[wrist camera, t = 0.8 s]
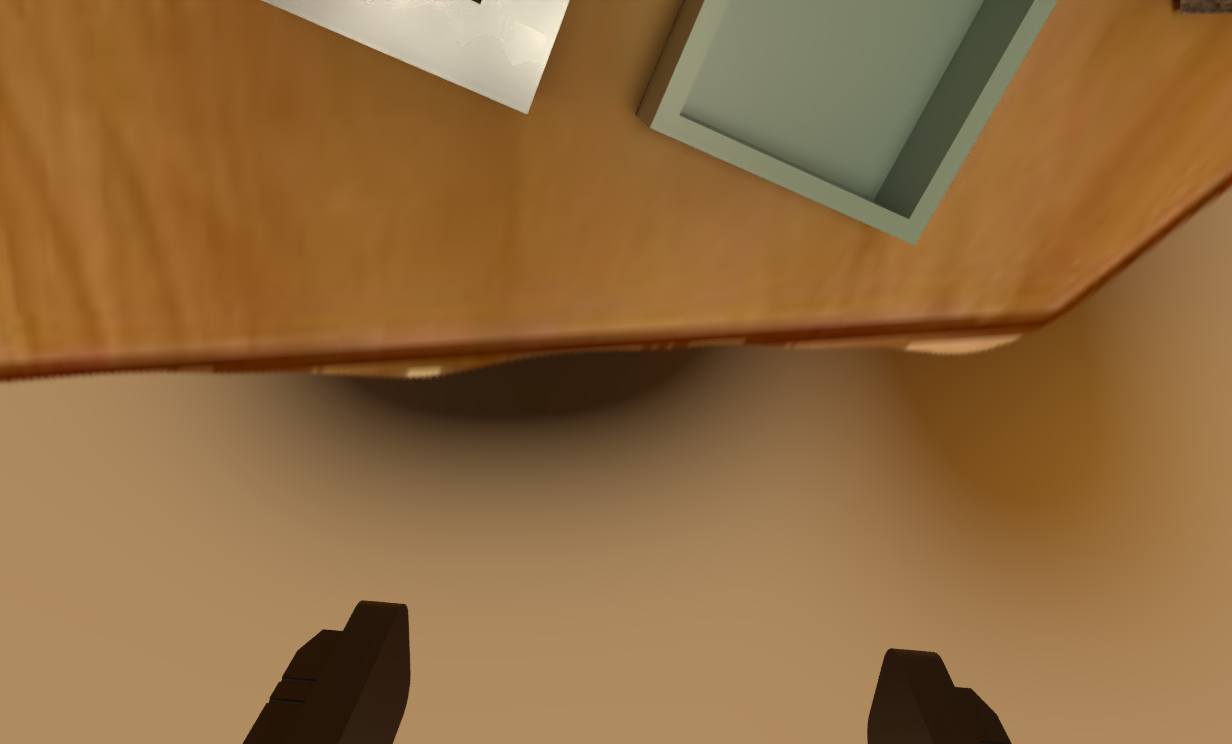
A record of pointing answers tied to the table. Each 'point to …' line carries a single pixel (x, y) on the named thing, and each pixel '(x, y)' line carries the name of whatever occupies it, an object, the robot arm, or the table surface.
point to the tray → (842, 94)
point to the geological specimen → (1206, 6)
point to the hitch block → (452, 38)
